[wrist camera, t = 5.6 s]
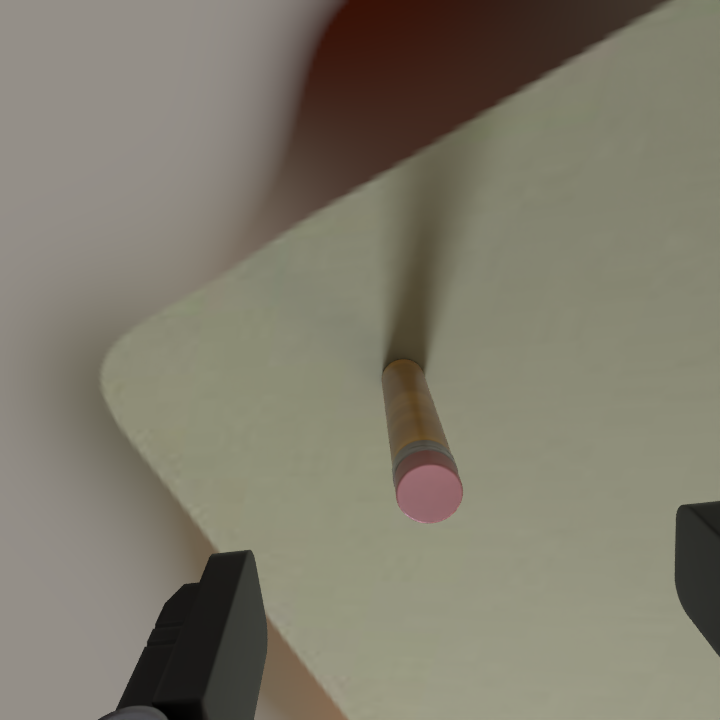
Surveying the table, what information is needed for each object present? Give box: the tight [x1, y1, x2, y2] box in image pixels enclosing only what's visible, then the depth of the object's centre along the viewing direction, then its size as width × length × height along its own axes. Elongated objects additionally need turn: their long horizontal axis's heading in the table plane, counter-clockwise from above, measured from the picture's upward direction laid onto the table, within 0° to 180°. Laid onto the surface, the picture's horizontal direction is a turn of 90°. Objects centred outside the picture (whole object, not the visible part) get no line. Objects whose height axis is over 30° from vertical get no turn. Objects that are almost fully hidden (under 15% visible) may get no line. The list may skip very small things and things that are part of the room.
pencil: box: [382, 359, 463, 523], centre depth 19 cm, size 2×2×9 cm
